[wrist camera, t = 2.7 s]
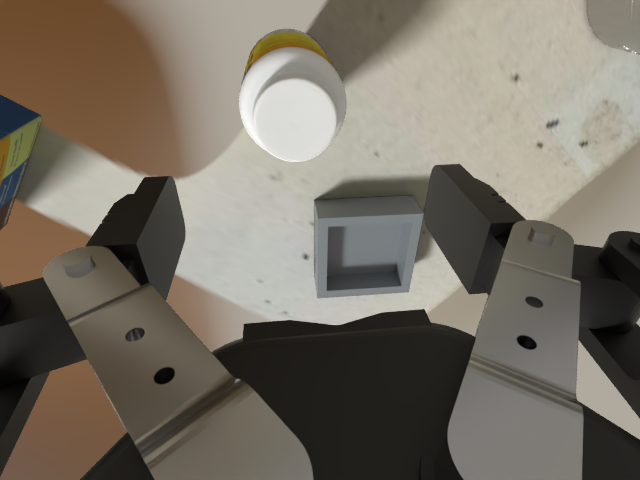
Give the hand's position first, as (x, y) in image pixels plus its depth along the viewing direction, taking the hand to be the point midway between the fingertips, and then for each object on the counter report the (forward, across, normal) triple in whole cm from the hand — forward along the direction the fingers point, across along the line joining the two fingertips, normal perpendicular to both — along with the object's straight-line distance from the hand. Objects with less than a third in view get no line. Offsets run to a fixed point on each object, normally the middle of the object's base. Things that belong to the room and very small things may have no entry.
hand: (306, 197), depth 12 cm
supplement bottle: (+17, 0, 0) cm, 17 cm away
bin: (+17, -6, +14) cm, 23 cm away
